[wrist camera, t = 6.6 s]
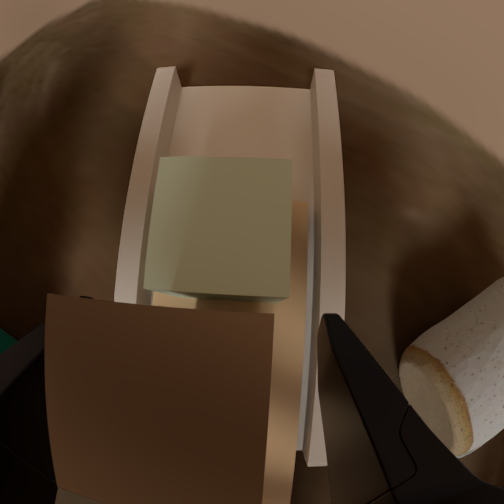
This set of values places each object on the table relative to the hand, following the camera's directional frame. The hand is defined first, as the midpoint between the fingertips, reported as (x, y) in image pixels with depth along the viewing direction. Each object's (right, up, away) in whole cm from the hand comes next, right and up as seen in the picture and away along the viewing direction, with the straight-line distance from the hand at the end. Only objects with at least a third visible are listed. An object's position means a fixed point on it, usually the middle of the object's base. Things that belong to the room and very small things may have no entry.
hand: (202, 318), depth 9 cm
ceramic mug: (+15, -6, +8) cm, 18 cm away
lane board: (0, +2, +10) cm, 10 cm away
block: (0, +2, +8) cm, 8 cm away
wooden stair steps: (0, -5, +7) cm, 9 cm away
